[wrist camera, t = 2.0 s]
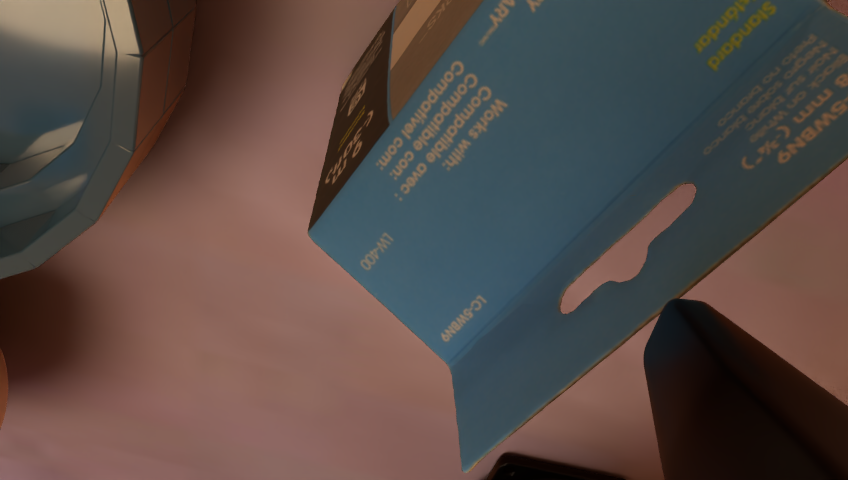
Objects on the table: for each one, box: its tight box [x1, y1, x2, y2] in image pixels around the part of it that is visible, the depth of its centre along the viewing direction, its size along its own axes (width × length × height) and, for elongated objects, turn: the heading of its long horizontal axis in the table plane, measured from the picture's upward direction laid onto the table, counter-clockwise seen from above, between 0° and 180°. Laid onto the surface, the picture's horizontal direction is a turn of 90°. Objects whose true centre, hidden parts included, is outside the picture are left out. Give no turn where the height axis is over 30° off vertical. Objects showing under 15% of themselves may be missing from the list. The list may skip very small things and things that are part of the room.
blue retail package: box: [308, 0, 848, 473], centre depth 14 cm, size 9×4×12 cm, turn 144°
